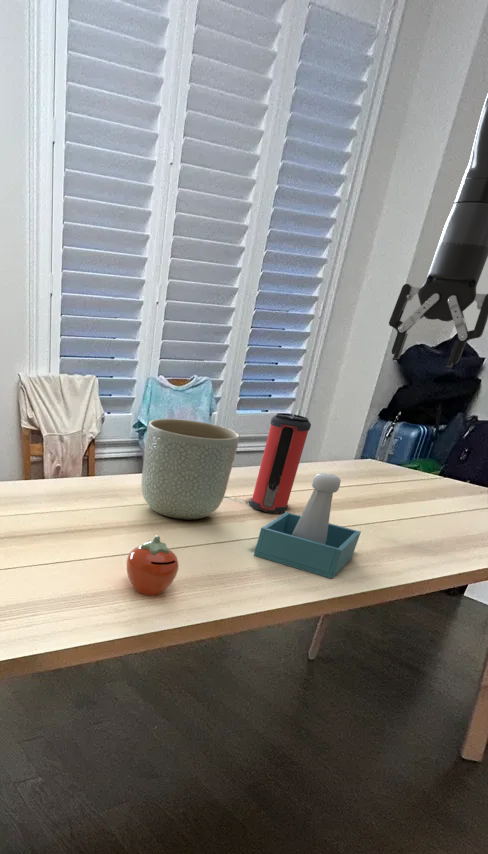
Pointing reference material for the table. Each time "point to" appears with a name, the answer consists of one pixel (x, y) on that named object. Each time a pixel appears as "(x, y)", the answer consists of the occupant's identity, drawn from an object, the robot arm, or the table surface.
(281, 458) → the speaker
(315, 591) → the table surface
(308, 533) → the salt shaker
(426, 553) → the table surface
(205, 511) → the planter
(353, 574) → the table surface
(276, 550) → the bin
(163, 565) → the tomato
